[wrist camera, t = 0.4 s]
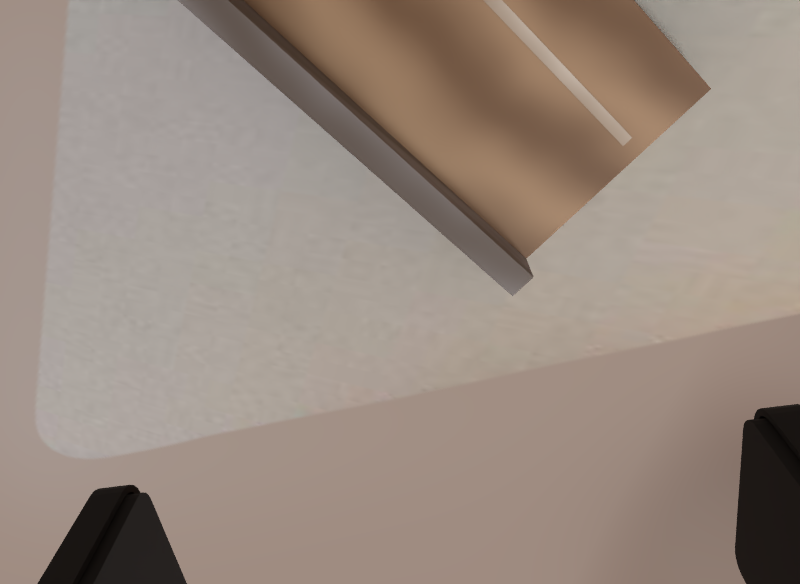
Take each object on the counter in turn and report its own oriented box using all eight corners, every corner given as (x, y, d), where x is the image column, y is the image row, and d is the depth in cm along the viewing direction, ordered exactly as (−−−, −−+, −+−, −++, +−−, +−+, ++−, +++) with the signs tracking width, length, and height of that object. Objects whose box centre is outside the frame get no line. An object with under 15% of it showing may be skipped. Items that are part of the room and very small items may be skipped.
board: (348, -314, 29) (337, -360, 25) (695, 82, 36) (732, 97, 32) (163, -43, 33) (128, -44, 29) (502, 262, 40) (512, 296, 36)
